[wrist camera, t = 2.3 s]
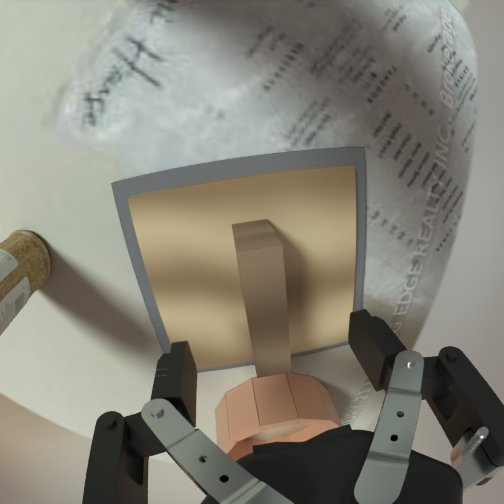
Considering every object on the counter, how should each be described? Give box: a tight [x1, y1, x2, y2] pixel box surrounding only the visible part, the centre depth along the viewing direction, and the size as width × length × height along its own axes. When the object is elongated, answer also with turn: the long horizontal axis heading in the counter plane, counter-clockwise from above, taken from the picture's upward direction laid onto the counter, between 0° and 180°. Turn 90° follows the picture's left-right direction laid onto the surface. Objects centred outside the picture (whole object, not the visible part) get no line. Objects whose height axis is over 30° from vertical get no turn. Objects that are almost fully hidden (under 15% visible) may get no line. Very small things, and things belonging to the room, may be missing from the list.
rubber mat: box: [111, 147, 366, 373], centre depth 19 cm, size 15×15×1 cm
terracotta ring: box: [215, 373, 342, 461], centre depth 23 cm, size 11×11×5 cm
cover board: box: [128, 164, 356, 378], centre depth 16 cm, size 13×13×5 cm
